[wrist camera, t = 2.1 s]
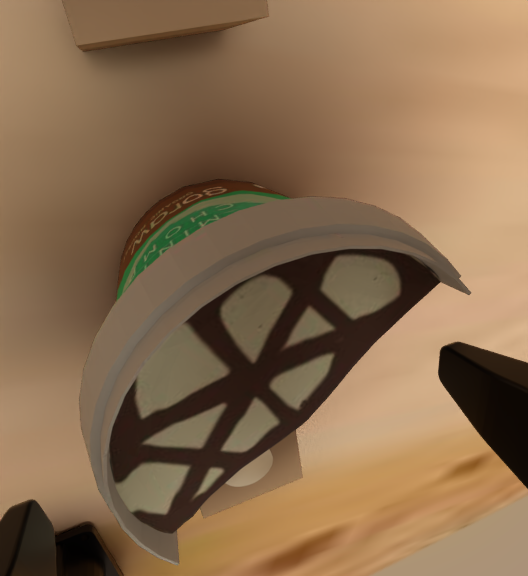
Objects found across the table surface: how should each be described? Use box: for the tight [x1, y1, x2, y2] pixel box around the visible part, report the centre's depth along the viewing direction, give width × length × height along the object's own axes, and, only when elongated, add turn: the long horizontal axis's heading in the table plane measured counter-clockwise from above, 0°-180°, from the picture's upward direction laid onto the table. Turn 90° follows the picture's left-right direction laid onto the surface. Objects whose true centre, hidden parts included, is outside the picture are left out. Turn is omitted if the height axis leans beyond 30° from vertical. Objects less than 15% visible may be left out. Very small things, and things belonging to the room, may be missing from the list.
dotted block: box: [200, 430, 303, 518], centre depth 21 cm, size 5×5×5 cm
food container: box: [79, 179, 471, 565], centre depth 14 cm, size 12×6×10 cm, turn 131°
